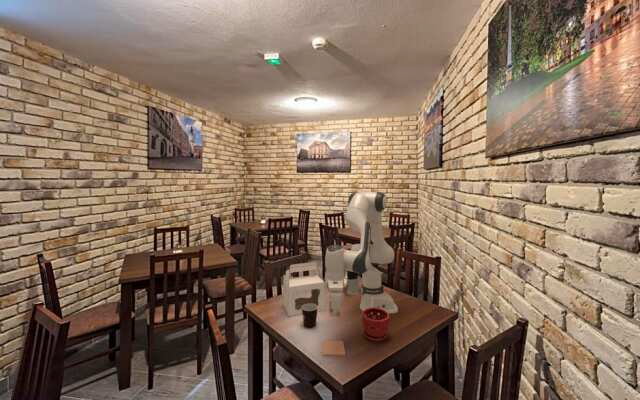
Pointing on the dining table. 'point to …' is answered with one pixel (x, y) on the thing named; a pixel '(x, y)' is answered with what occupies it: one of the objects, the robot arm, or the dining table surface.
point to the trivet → (333, 348)
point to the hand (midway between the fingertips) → (334, 310)
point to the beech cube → (332, 311)
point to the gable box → (303, 288)
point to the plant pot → (375, 324)
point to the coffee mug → (309, 315)
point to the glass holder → (352, 283)
